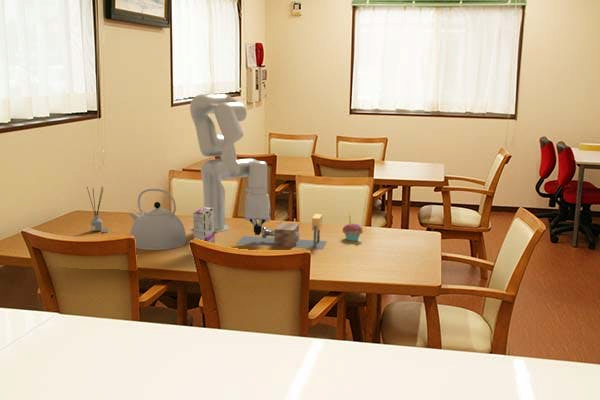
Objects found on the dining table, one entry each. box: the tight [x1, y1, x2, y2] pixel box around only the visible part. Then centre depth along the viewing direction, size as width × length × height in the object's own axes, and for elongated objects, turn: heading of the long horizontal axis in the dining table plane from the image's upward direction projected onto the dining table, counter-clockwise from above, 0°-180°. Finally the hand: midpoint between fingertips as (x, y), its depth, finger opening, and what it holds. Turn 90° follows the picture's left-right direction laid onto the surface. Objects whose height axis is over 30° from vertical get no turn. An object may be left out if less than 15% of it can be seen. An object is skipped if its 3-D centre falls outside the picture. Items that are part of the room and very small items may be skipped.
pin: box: [261, 226, 301, 239], centre depth 270 cm, size 15×5×5 cm, turn 80°
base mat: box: [235, 235, 328, 250], centre depth 271 cm, size 36×13×1 cm, turn 80°
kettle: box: [129, 188, 187, 251], centre depth 268 cm, size 25×23×22 cm
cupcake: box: [342, 214, 364, 242], centre depth 278 cm, size 9×8×12 cm
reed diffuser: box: [86, 186, 109, 233], centre depth 284 cm, size 10×7×20 cm
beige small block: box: [311, 213, 323, 231], centre depth 267 cm, size 3×8×5 cm, turn 170°
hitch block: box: [273, 222, 321, 248], centre depth 269 cm, size 17×12×9 cm
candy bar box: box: [193, 206, 216, 244], centre depth 258 cm, size 11×5×16 cm, turn 168°
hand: (257, 234), depth 272 cm, fingers closed
